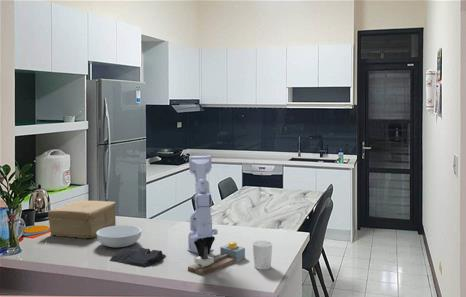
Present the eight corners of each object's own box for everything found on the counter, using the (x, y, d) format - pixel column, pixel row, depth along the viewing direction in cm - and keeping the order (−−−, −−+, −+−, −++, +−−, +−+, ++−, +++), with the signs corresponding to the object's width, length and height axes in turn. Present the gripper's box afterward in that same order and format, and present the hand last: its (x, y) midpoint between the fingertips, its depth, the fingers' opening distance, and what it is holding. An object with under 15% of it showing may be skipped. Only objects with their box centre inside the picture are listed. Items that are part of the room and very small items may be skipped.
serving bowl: (131, 253, 214) (130, 238, 213) (88, 250, 218) (88, 236, 217) (148, 239, 234) (148, 225, 233) (109, 237, 238) (108, 223, 238)
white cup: (270, 263, 199) (270, 240, 198) (273, 270, 191) (273, 246, 190) (252, 263, 199) (252, 240, 198) (253, 270, 191) (253, 246, 190)
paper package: (78, 222, 267) (77, 198, 265) (118, 225, 260) (117, 201, 258) (46, 236, 241) (45, 209, 239) (91, 240, 234) (90, 212, 232)
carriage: (194, 265, 193) (194, 247, 192) (203, 261, 197) (202, 244, 196) (205, 268, 189) (205, 250, 188) (213, 264, 193) (213, 247, 192)
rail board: (187, 270, 192) (187, 264, 192) (220, 257, 207) (220, 251, 207) (203, 275, 186) (203, 269, 186) (236, 261, 202) (236, 255, 201)
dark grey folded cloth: (128, 251, 218) (127, 241, 217) (169, 257, 209) (168, 247, 208) (106, 262, 204) (106, 251, 203) (149, 269, 195) (149, 258, 194)
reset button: (226, 252, 206) (226, 243, 206) (232, 250, 209) (232, 241, 208) (233, 253, 204) (233, 244, 203) (238, 251, 207) (238, 242, 206)
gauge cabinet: (220, 257, 207) (220, 247, 207) (229, 253, 212) (229, 243, 211) (236, 261, 202) (236, 251, 201) (244, 257, 206) (244, 247, 206)
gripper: (198, 228, 183) (198, 262, 184) (222, 220, 194) (223, 252, 195) (185, 225, 187) (186, 258, 189) (210, 217, 198) (210, 249, 200)
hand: (204, 255), depth 192 cm, fingers closed on carriage, 3 cm apart
